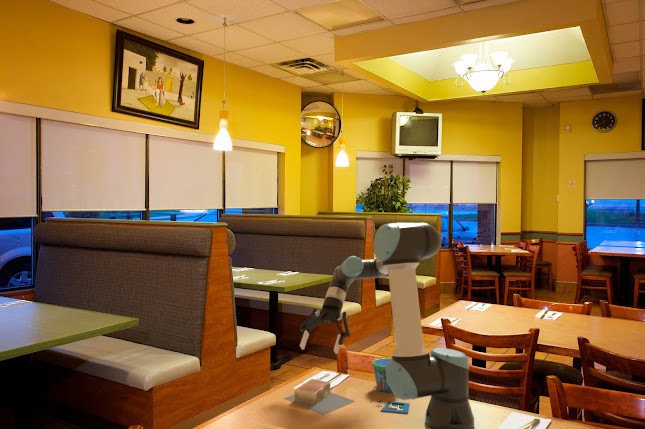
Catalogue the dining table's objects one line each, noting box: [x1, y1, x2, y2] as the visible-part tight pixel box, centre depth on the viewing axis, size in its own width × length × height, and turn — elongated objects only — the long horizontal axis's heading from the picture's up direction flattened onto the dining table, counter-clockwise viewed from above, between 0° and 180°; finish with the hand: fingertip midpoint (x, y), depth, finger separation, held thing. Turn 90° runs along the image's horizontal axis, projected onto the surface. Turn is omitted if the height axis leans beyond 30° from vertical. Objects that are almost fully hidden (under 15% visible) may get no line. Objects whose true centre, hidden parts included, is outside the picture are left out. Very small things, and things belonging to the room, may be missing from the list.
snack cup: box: [372, 358, 393, 393], centre depth 190 cm, size 16×10×10 cm
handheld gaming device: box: [370, 400, 410, 415], centre depth 174 cm, size 8×1×15 cm
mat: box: [283, 391, 356, 416], centre depth 179 cm, size 20×16×1 cm
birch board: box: [294, 378, 331, 405], centre depth 182 cm, size 4×8×12 cm
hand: (318, 349), depth 185 cm, fingers open, 13 cm apart
